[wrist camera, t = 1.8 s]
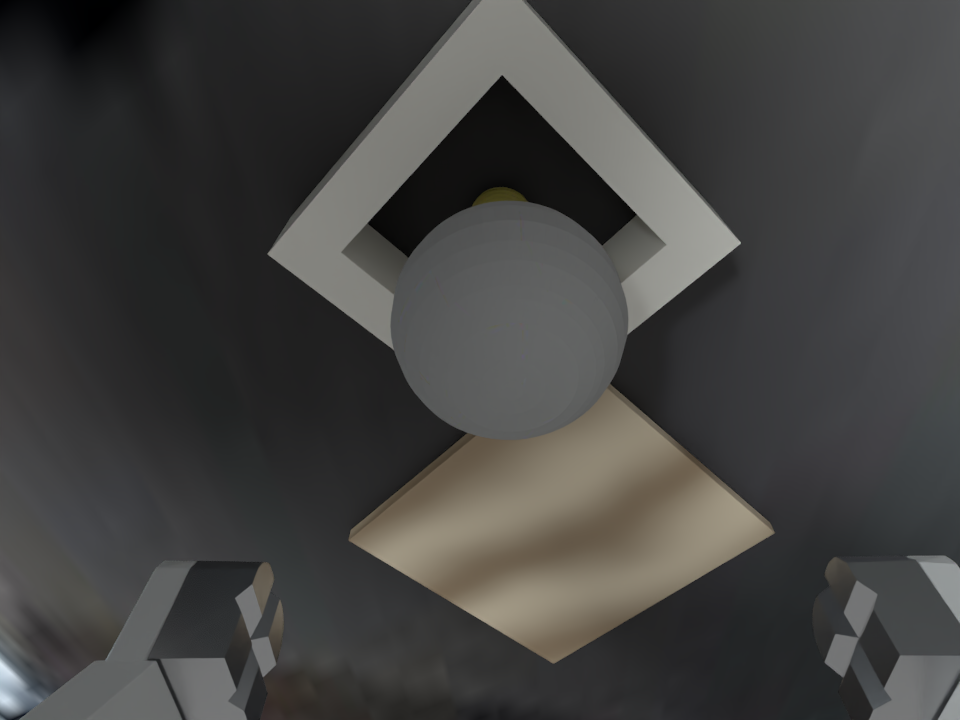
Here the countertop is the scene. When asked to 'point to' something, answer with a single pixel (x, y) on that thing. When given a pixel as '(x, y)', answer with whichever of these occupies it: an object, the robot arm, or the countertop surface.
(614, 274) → the light bulb
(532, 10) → the socket
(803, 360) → the countertop surface
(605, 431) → the board
